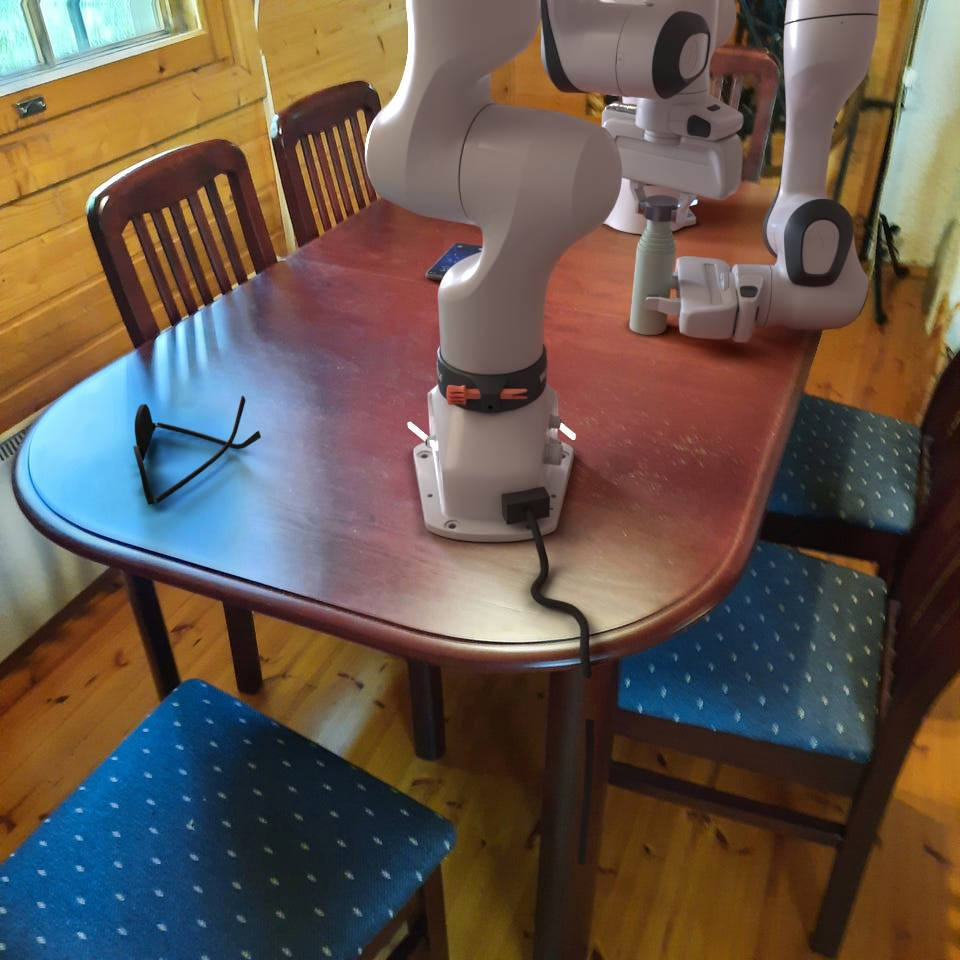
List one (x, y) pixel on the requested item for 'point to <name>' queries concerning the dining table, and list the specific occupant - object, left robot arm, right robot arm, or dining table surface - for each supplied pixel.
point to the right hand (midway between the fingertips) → (645, 292)
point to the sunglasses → (147, 427)
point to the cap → (659, 207)
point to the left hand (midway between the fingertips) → (660, 217)
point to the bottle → (652, 276)
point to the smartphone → (451, 259)
